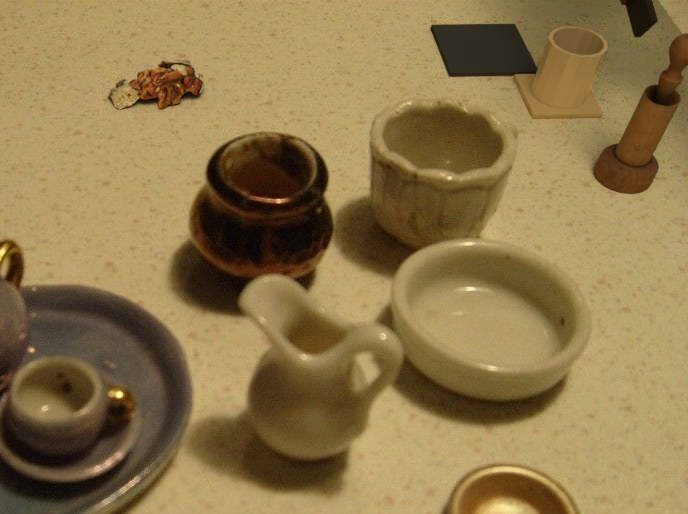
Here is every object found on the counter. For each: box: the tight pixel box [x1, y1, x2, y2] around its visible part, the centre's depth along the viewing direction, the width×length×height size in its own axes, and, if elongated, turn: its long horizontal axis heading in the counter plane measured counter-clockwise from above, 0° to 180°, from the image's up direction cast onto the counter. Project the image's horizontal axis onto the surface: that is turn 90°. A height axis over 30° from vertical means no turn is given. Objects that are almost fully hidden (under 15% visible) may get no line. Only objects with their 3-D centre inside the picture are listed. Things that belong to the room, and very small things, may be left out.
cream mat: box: [513, 74, 604, 119], centre depth 111 cm, size 9×9×1 cm
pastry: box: [107, 58, 205, 110], centre depth 109 cm, size 7×12×4 cm, turn 116°
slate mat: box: [430, 23, 538, 77], centre depth 118 cm, size 12×12×1 cm
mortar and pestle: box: [593, 32, 688, 194], centre depth 94 cm, size 7×6×18 cm
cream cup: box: [531, 25, 609, 109], centre depth 108 cm, size 7×7×8 cm
